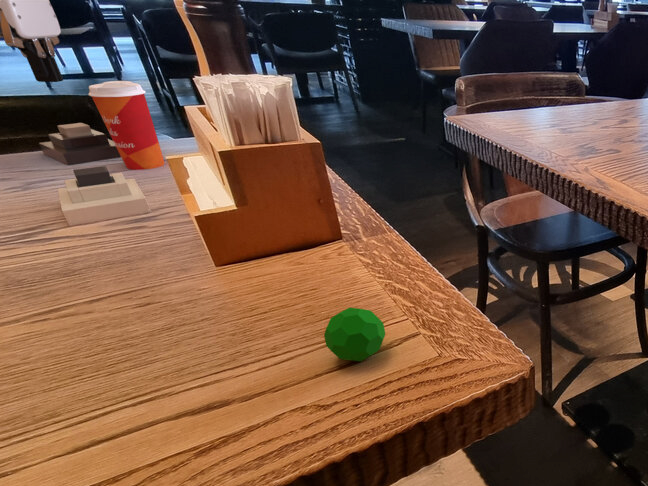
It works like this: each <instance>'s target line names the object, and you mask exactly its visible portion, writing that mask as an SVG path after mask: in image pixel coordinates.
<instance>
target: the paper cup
mask: <svg viewBox="0 0 648 486" xmlns="http://www.w3.org/2000/svg"><path fill="white" fill-rule="evenodd" d="M88 90H89V92H88V96H89V97H91V98H92V100H93V102H94V104H95V106H96V109H97V110H98V113H99V114H100V117H101V118H102V121H103V123H104V125H105V127H106V129H107V131H108V133H109V136H110V137H111V139H112V141H114V143H115V145H116V147H117V150H118V152H119V154H120V156H121V157H120V158H121V160H122V162H123V163H124V166H125V167H126V169H127V170H130V171H131V170H133V171H141V170H142V171H143V170H152V169H156V168H160V167H164V165H165V160H164V156H163V151H162V148H161V146H160V142H159V138H158V135H157V132H156V128H155V125H154V121H153V118H152V115H151V112H150V109H149V105H148V102H147V99H146V95H145V94H146V93H147V91H146V90H145V89H143V87H142V86H141V85H140V83H135V82H133V83H108V84H102V83H97V84H96V83H95V84H91V85H89V86H88Z"/></svg>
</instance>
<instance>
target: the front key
mask: <svg viewBox="0 0 648 486" xmlns="http://www.w3.org/2000/svg"><path fill="white" fill-rule="evenodd" d="M73 174H74V176H75V179H77V181H78V183H79V185H80V187H86V186H93V185H100V184H108V183H113V181H112V179H111V176H110V174H111V173H110V172H109V170H108V168H107V166H106V165H101V166H95V167H86V168H78V169H77V168H75V169H73Z"/></svg>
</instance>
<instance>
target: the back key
mask: <svg viewBox="0 0 648 486" xmlns="http://www.w3.org/2000/svg"><path fill="white" fill-rule="evenodd" d="M57 128H58V131H59V133H61V135H62V136H64V137H66V138H70V137H78V136H85V135H93V133H92V131H91V129H92V128H91V127H90V125H88V124H86V123H83V122H77V123H68V124H59V125H57Z"/></svg>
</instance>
